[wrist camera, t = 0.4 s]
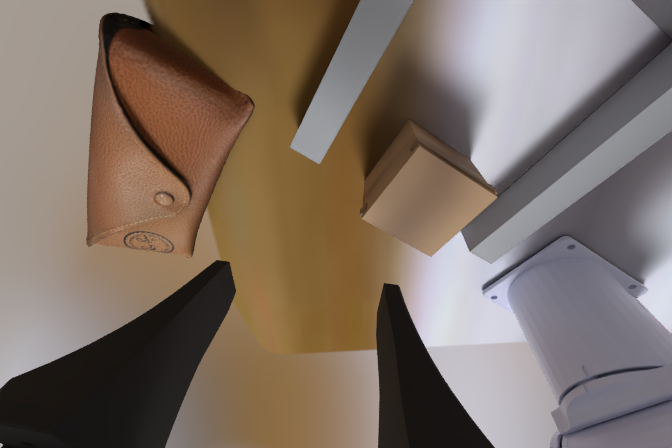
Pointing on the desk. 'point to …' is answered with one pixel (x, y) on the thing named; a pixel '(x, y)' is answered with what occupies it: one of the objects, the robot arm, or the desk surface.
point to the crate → (423, 190)
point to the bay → (550, 171)
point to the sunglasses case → (155, 140)
